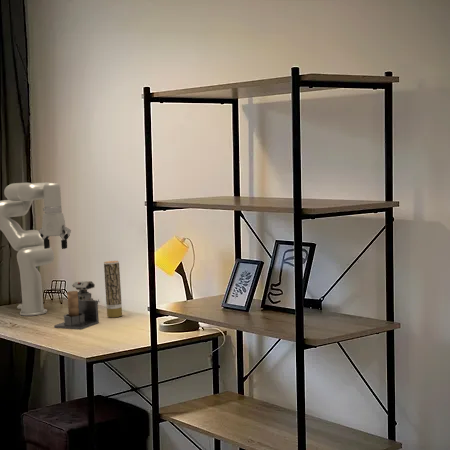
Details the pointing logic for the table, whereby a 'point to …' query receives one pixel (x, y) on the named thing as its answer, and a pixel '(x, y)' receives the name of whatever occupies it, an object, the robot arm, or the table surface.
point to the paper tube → (113, 289)
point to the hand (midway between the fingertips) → (55, 248)
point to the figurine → (84, 289)
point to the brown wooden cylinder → (73, 303)
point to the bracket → (82, 316)
